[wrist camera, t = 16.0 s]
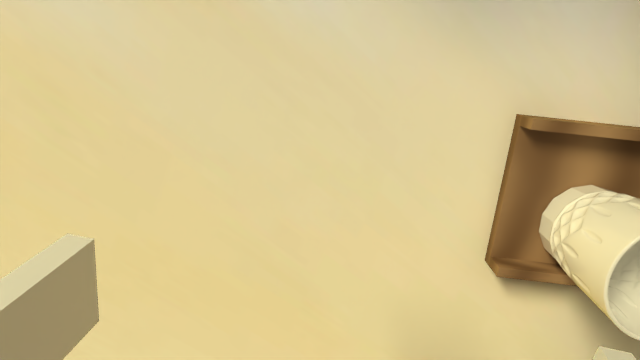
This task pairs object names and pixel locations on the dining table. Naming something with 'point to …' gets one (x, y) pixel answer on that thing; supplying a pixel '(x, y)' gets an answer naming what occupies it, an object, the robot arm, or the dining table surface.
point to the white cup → (598, 249)
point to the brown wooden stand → (554, 186)
